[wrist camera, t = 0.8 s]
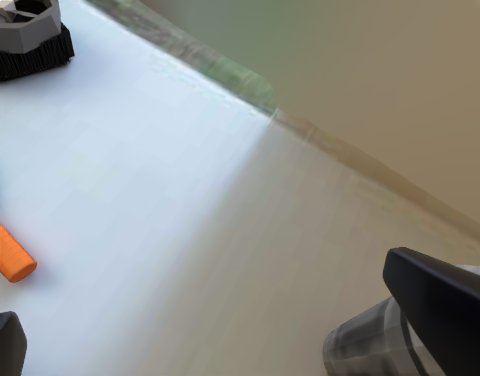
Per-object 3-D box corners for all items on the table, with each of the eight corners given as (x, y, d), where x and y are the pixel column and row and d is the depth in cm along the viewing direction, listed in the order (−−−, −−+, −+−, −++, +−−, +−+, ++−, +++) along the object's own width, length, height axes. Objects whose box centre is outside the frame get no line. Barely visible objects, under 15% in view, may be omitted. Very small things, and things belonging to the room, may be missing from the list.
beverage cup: (381, 435, 23) (941, 537, 7) (293, 380, 24) (616, 353, 7) (397, 339, 27) (769, 258, 11) (322, 294, 28) (569, 154, 11)
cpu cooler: (27, -40, 34) (77, 14, 31) (42, 13, 38) (87, 63, 36) (-95, -27, 29) (-47, 39, 26) (-61, 32, 33) (-17, 93, 31)
